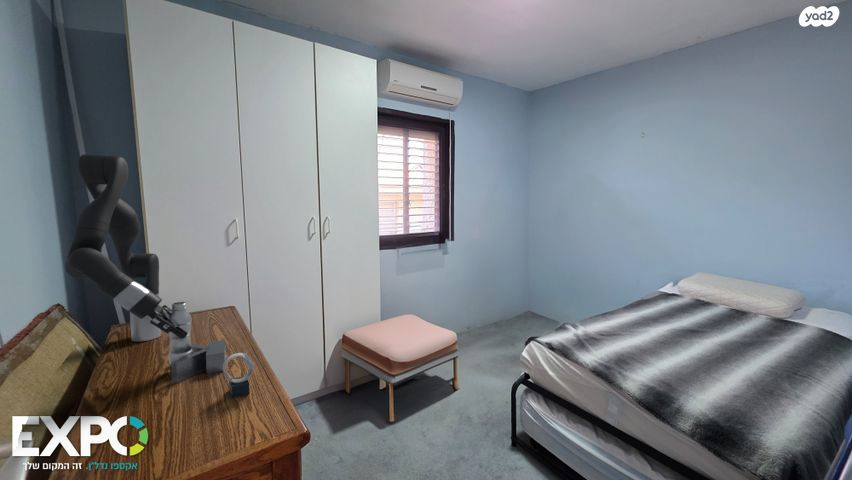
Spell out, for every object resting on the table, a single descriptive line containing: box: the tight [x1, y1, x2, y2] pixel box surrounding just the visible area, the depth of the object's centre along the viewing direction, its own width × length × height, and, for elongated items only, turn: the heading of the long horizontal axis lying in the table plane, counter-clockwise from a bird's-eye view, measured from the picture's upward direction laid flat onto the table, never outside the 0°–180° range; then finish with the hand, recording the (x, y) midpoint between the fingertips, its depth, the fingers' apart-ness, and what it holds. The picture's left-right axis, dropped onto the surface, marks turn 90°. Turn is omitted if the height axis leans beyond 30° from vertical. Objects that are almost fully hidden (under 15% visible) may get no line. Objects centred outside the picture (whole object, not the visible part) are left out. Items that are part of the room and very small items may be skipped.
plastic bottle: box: [167, 301, 193, 366], centre depth 114 cm, size 6×7×20 cm
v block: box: [170, 339, 227, 384], centre depth 117 cm, size 18×14×6 cm
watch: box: [222, 352, 256, 399], centre depth 102 cm, size 6×8×11 cm
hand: (186, 332), depth 114 cm, fingers closed on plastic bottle, 6 cm apart
